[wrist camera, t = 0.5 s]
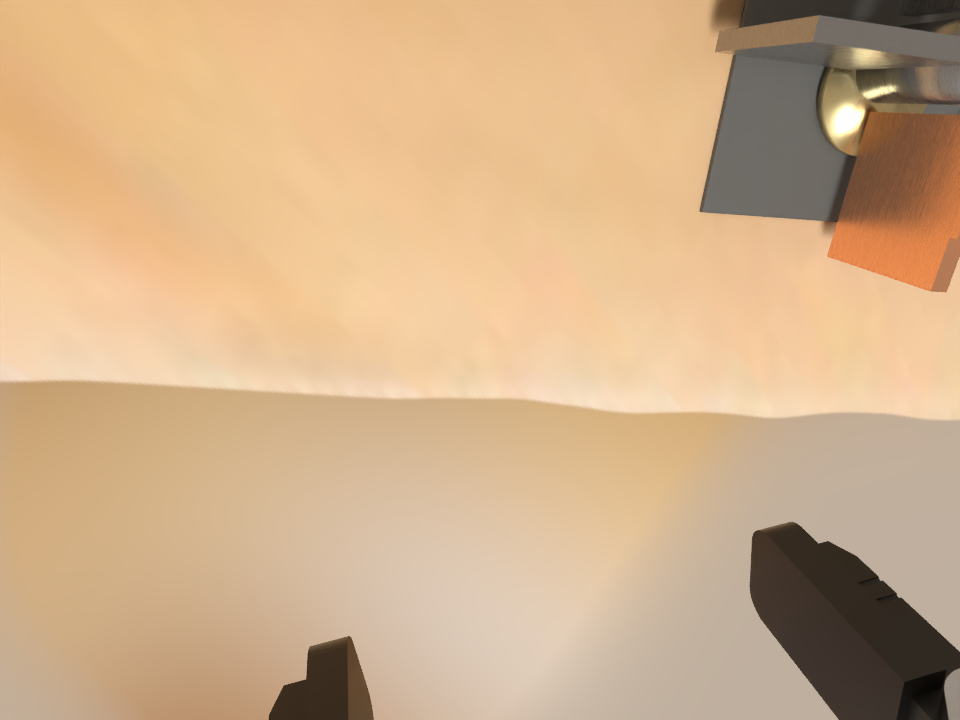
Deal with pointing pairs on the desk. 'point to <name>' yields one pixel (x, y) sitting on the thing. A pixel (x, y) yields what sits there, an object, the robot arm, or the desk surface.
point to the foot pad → (787, 123)
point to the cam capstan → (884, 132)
